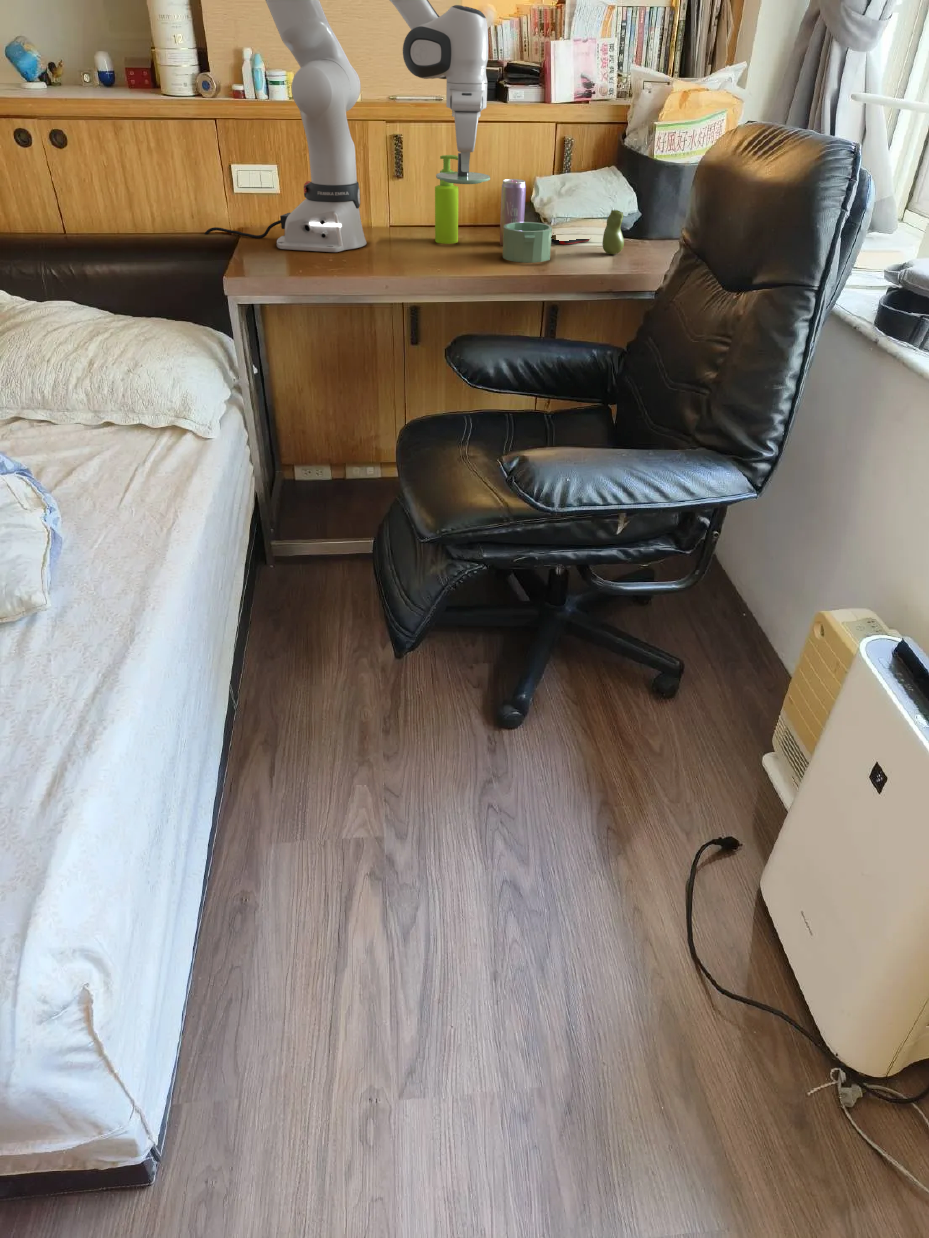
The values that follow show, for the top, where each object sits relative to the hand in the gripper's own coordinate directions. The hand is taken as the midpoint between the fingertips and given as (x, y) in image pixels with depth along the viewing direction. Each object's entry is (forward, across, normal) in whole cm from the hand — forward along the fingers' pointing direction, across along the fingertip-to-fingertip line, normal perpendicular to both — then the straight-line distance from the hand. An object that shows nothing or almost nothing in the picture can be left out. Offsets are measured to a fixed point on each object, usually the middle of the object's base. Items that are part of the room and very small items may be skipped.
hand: (465, 170), depth 188 cm
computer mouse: (+19, -22, +28) cm, 41 cm away
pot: (+19, -1, +15) cm, 24 cm away
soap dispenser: (+19, -17, -4) cm, 26 cm away
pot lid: (+2, 0, 0) cm, 2 cm away
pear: (+19, -8, +37) cm, 43 cm away
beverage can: (+19, -15, +12) cm, 27 cm away
